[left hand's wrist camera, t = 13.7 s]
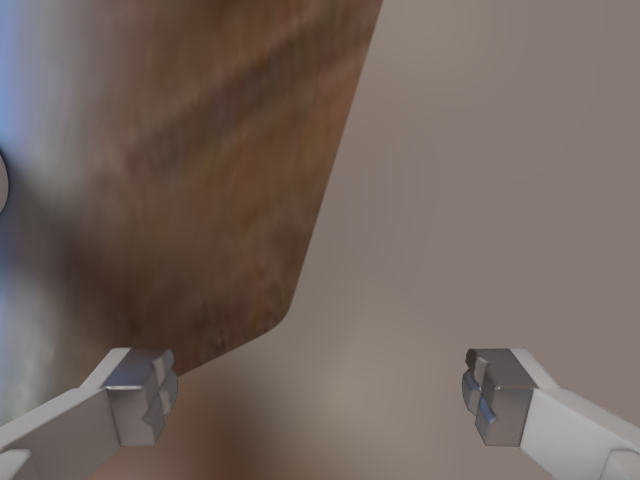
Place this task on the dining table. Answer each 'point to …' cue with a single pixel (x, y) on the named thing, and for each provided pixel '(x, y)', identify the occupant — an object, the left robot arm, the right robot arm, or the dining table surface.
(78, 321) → the dining table surface
